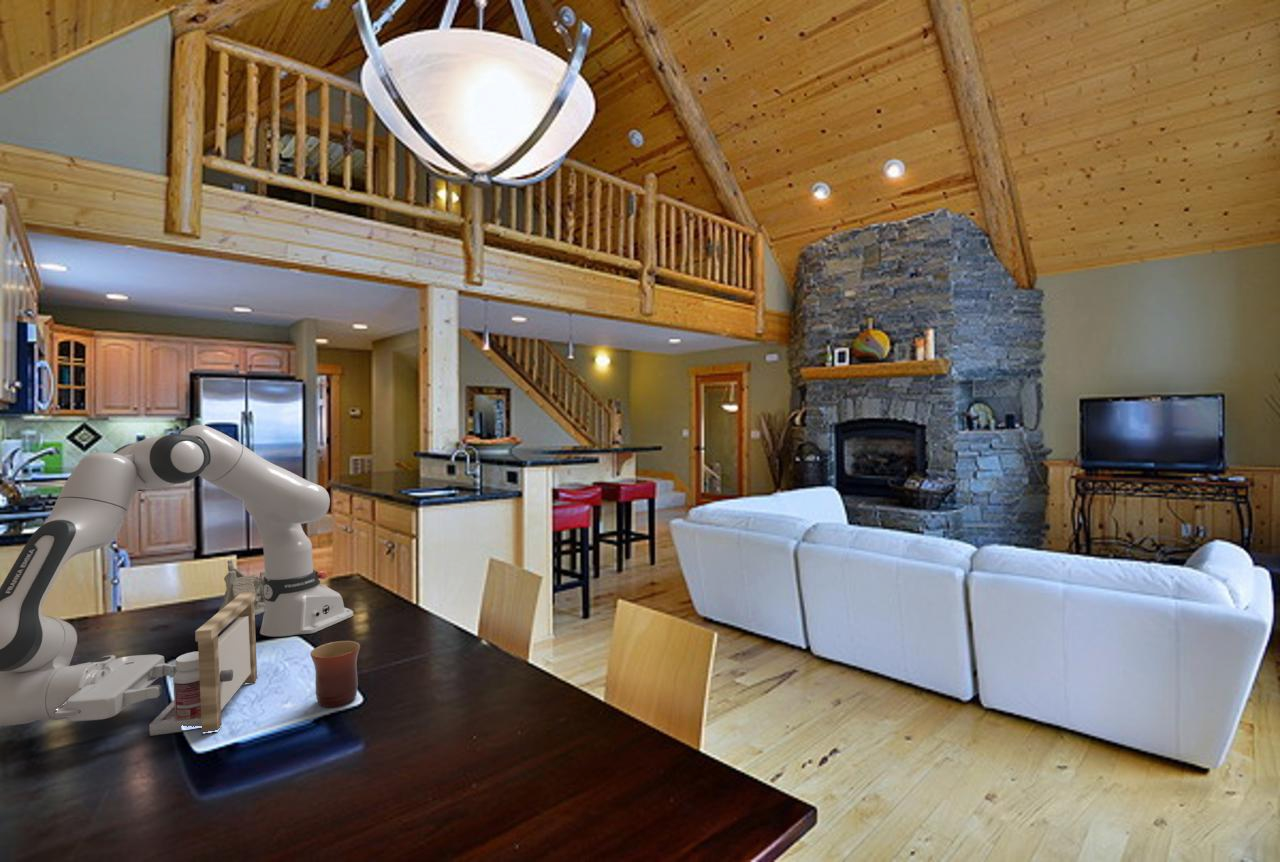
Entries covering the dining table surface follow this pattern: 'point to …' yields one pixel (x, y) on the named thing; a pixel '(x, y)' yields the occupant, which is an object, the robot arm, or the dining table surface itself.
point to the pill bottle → (187, 686)
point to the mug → (336, 672)
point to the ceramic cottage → (244, 587)
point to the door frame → (210, 656)
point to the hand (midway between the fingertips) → (171, 680)
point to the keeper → (171, 721)
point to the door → (233, 658)
